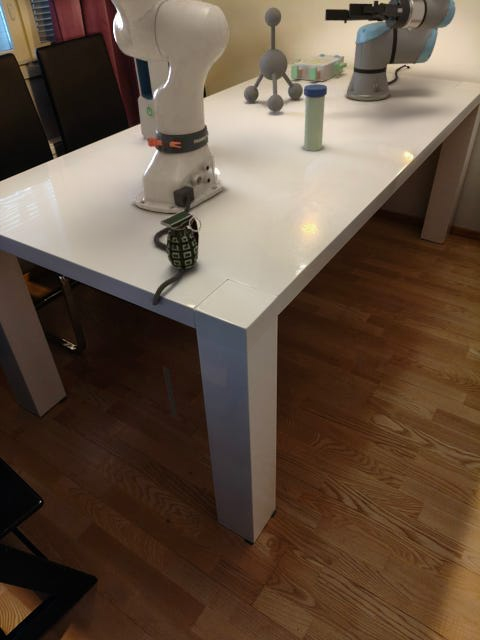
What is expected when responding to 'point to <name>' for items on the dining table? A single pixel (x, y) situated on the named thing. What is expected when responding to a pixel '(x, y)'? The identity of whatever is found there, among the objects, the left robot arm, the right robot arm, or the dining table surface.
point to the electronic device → (149, 92)
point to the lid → (315, 90)
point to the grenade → (182, 240)
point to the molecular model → (273, 68)
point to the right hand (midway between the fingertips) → (337, 12)
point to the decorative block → (318, 67)
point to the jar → (314, 123)
